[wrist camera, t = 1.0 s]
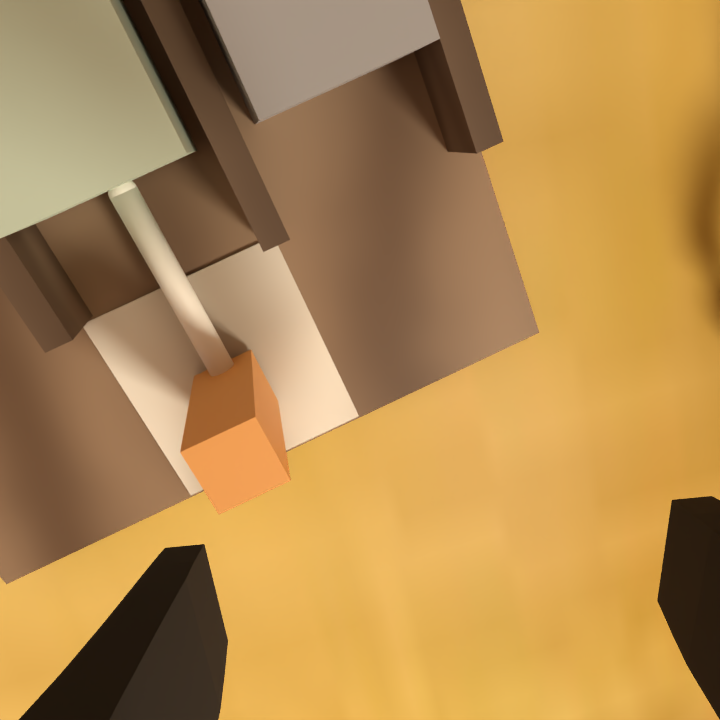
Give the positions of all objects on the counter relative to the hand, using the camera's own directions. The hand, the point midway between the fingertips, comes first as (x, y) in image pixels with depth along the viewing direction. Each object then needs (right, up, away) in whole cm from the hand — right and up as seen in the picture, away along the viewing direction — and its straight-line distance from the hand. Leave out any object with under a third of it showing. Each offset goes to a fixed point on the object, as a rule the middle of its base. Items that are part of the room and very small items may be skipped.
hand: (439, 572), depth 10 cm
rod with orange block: (-8, +7, +8) cm, 13 cm away
